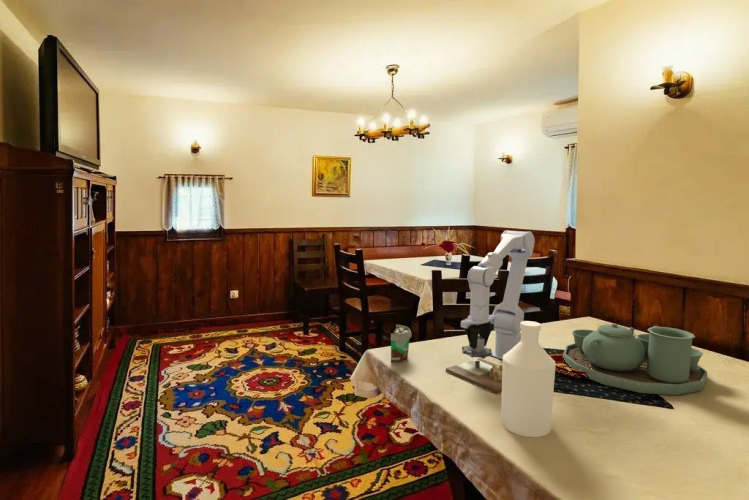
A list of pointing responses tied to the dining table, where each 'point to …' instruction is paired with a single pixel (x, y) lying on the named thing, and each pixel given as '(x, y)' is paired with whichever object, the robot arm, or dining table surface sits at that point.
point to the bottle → (527, 385)
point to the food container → (400, 343)
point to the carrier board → (480, 374)
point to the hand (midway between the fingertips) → (478, 346)
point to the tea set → (638, 359)
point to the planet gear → (477, 349)
